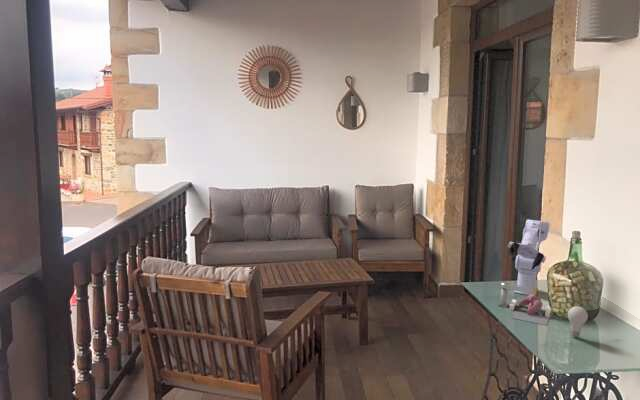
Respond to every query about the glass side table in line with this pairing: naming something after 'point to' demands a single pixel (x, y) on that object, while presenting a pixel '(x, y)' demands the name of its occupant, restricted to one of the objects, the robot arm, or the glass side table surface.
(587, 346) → the glass side table surface
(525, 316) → the mat
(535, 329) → the glass side table surface
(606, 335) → the glass side table surface
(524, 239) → the robot arm
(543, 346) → the glass side table surface
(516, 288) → the orange and grey bar
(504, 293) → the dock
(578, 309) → the lightbulb
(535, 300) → the video game controller
